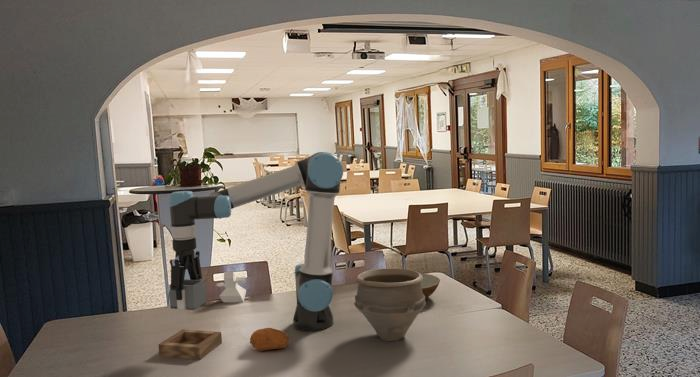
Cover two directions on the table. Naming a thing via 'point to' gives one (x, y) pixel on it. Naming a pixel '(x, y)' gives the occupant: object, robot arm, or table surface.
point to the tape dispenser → (232, 288)
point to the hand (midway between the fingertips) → (188, 305)
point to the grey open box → (190, 294)
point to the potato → (269, 339)
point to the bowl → (429, 284)
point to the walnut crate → (190, 344)
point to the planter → (390, 300)
